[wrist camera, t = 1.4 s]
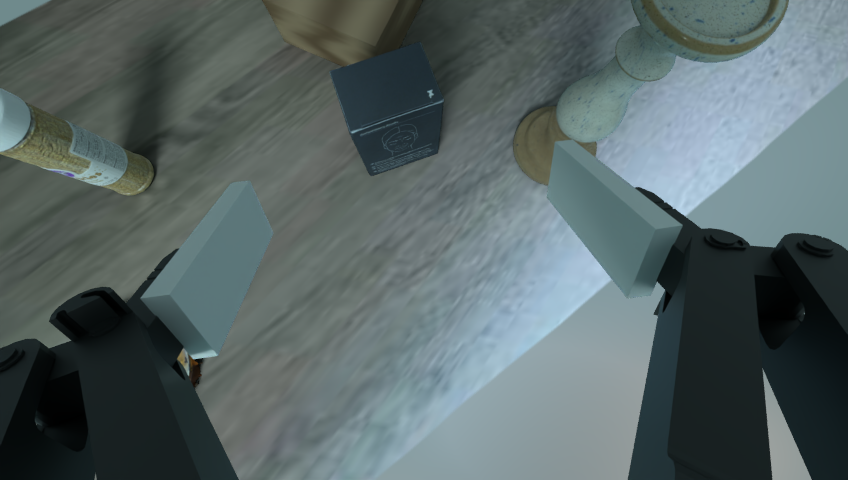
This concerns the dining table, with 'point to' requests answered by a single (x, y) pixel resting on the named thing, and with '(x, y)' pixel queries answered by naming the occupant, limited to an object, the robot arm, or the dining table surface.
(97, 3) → the dining table surface
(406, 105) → the box
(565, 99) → the candle holder
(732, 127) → the dining table surface
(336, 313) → the dining table surface
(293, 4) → the tan square block
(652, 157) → the dining table surface
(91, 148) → the sprinkles bottle
